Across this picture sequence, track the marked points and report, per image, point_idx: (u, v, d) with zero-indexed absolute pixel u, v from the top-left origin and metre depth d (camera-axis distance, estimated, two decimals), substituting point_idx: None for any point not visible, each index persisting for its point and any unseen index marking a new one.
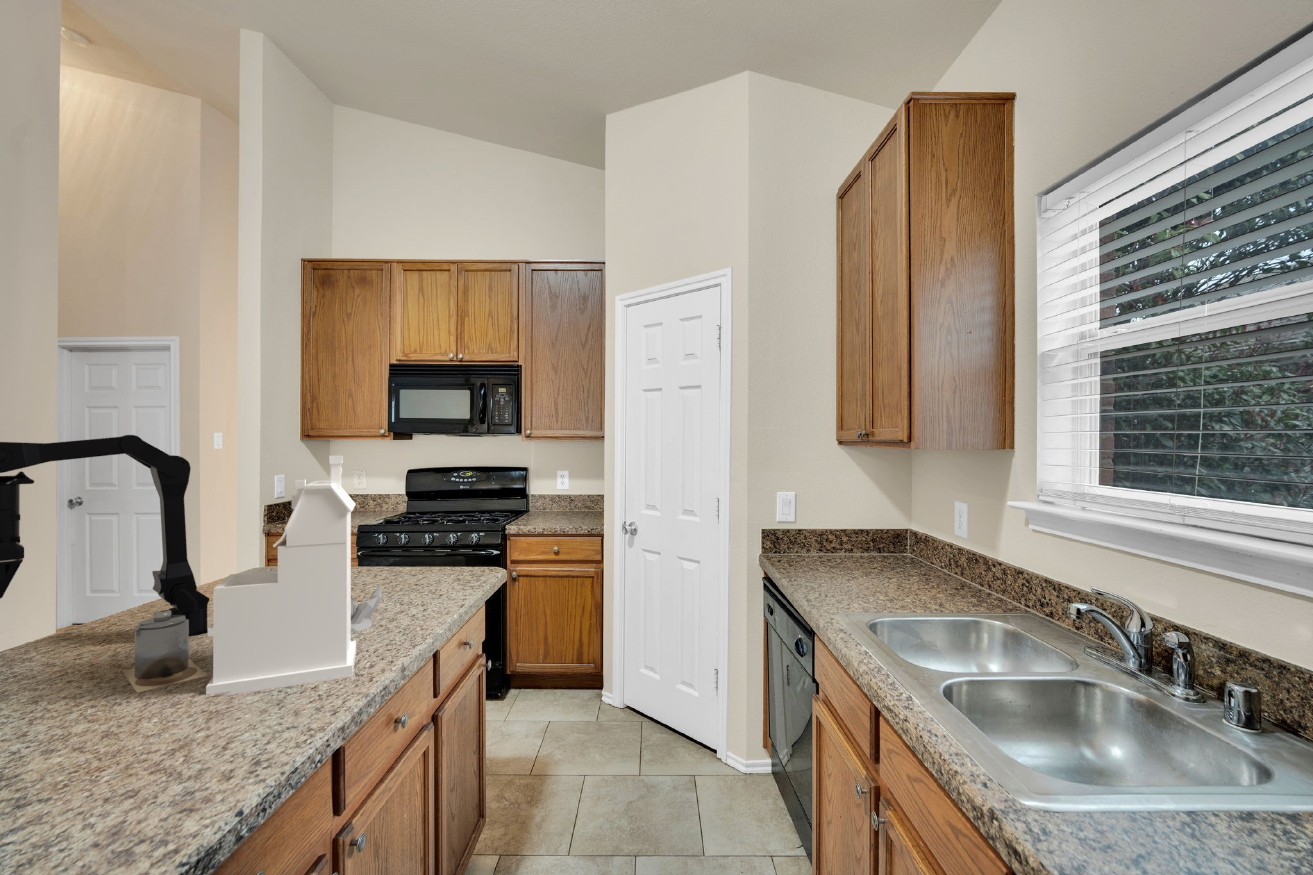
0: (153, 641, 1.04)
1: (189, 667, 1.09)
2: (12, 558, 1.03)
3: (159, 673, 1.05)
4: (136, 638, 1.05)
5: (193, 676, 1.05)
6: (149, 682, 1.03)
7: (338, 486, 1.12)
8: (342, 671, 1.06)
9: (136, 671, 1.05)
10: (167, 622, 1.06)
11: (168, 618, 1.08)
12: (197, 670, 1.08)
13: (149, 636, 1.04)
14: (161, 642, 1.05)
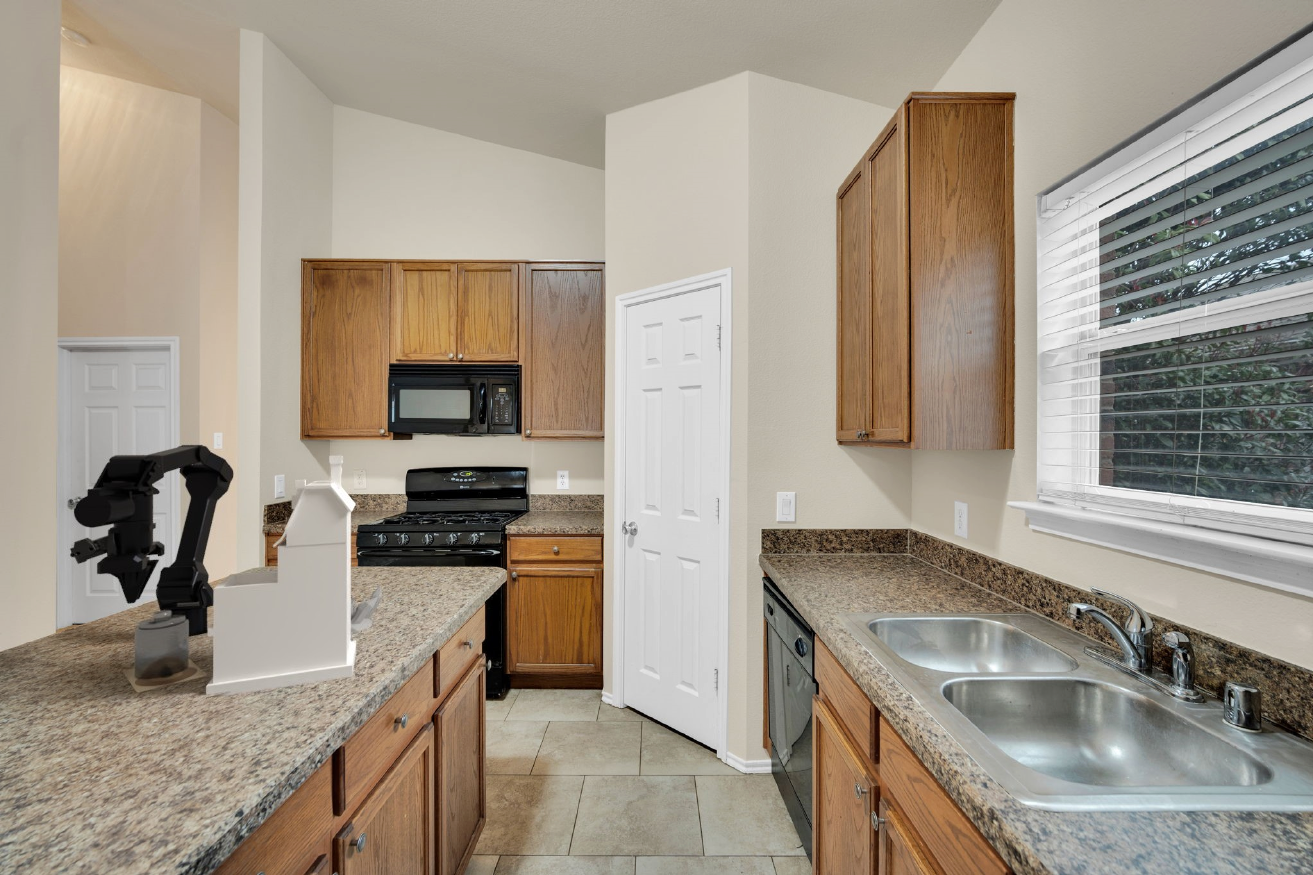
0: (153, 641, 1.04)
1: (189, 667, 1.09)
2: (131, 570, 1.06)
3: (159, 673, 1.05)
4: (136, 638, 1.05)
5: (193, 676, 1.05)
6: (149, 682, 1.03)
7: (338, 486, 1.12)
8: (342, 671, 1.06)
9: (136, 671, 1.05)
10: (167, 622, 1.06)
11: (168, 618, 1.08)
12: (197, 670, 1.08)
13: (149, 636, 1.04)
14: (161, 642, 1.05)
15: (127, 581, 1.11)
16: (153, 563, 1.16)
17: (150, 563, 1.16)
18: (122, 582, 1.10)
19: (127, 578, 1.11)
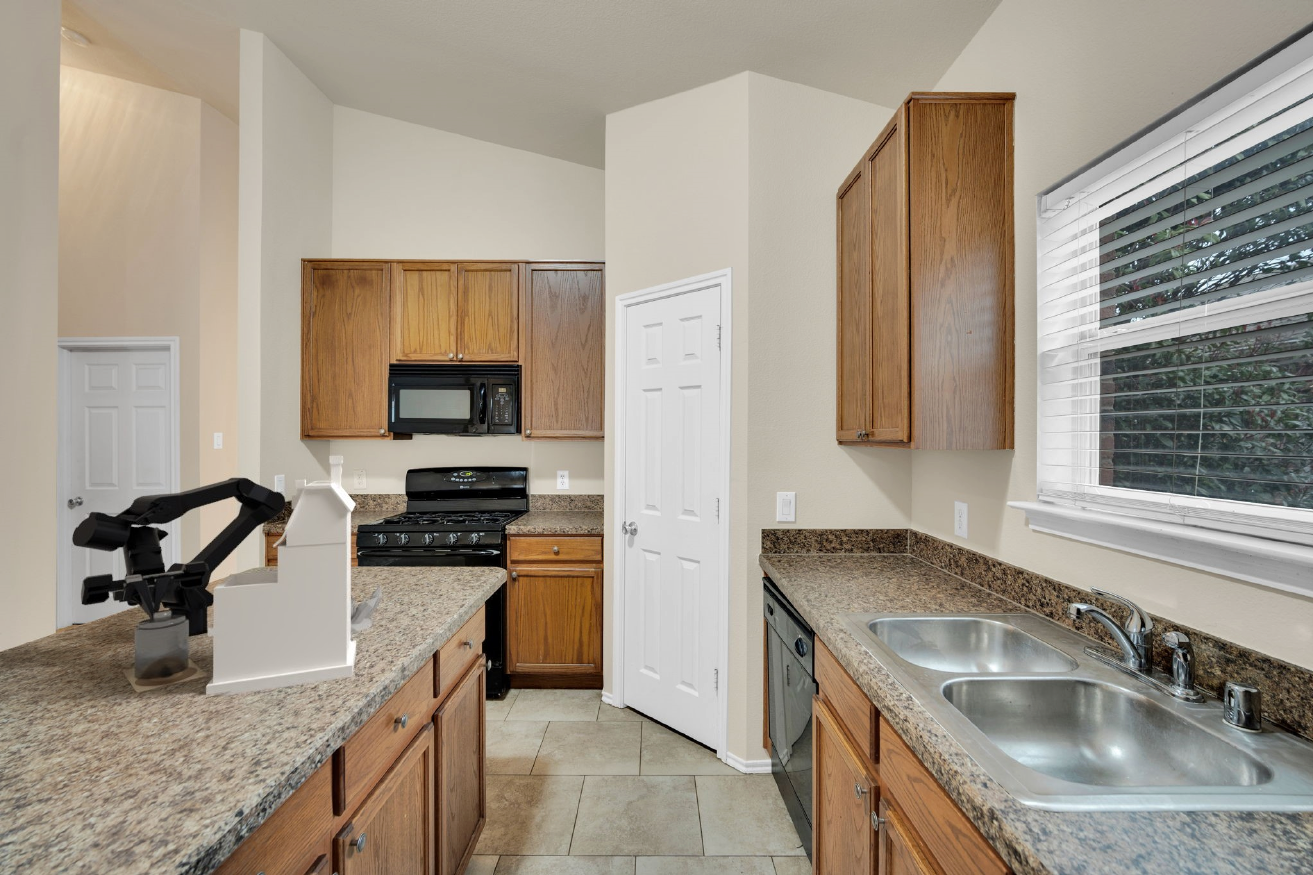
0: (153, 641, 1.04)
1: (189, 667, 1.09)
2: (83, 589, 1.08)
3: (159, 673, 1.05)
4: (136, 638, 1.05)
5: (193, 676, 1.05)
6: (149, 682, 1.03)
7: (338, 486, 1.12)
8: (342, 671, 1.06)
9: (136, 671, 1.05)
10: (167, 622, 1.06)
11: (168, 618, 1.08)
12: (197, 670, 1.08)
13: (149, 636, 1.04)
14: (161, 642, 1.05)
15: (141, 600, 1.14)
16: (156, 580, 1.15)
17: (155, 581, 1.15)
18: (139, 603, 1.14)
19: (141, 598, 1.14)
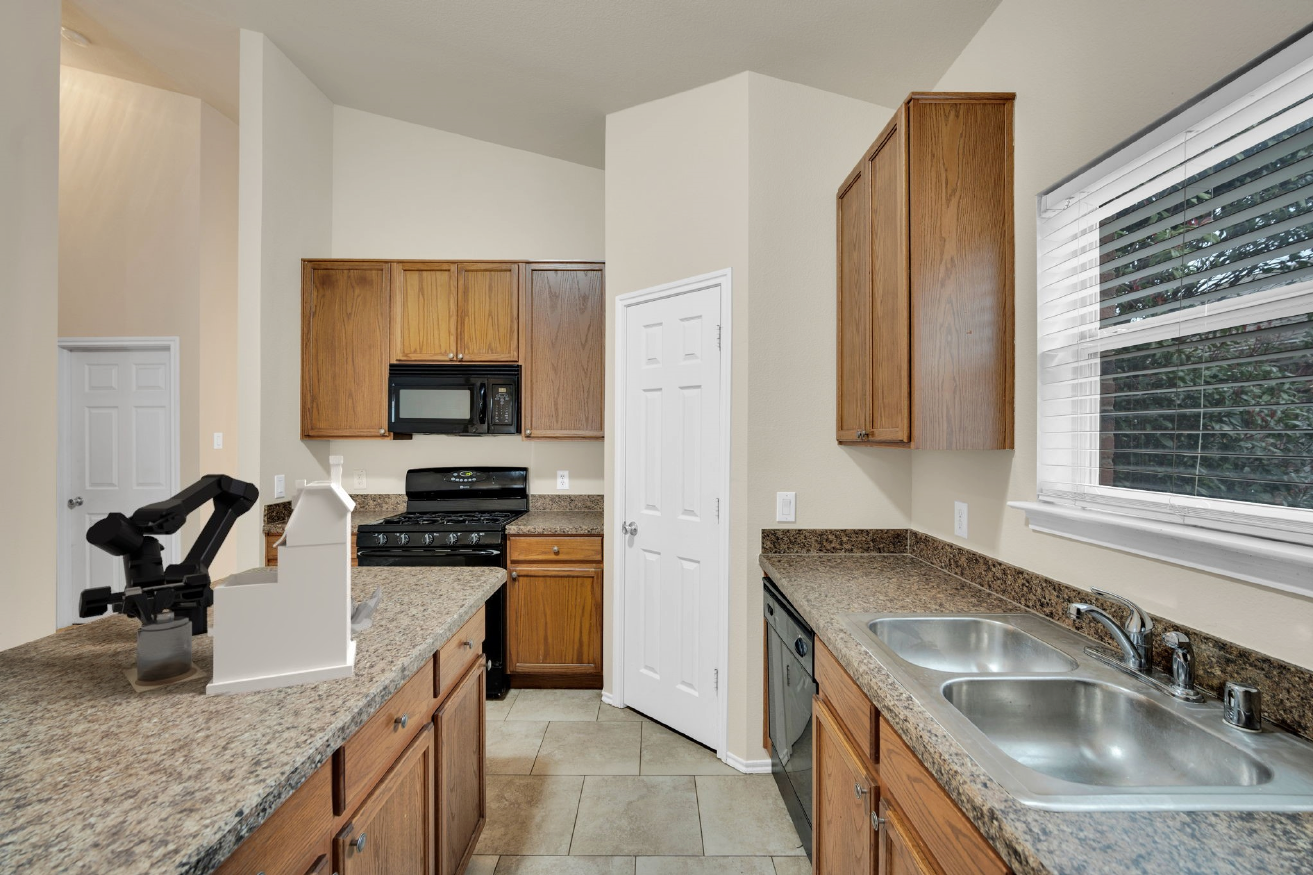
0: (156, 643, 1.03)
1: None
2: (80, 603, 1.04)
3: (162, 675, 1.04)
4: (139, 640, 1.04)
5: (193, 676, 1.05)
6: (149, 682, 1.03)
7: (338, 486, 1.12)
8: (342, 671, 1.06)
9: (139, 673, 1.03)
10: (170, 624, 1.05)
11: (171, 620, 1.07)
12: (197, 670, 1.08)
13: (152, 637, 1.03)
14: (164, 643, 1.04)
15: (140, 614, 1.10)
16: (156, 593, 1.11)
17: (155, 594, 1.11)
18: (138, 617, 1.10)
19: (140, 612, 1.10)
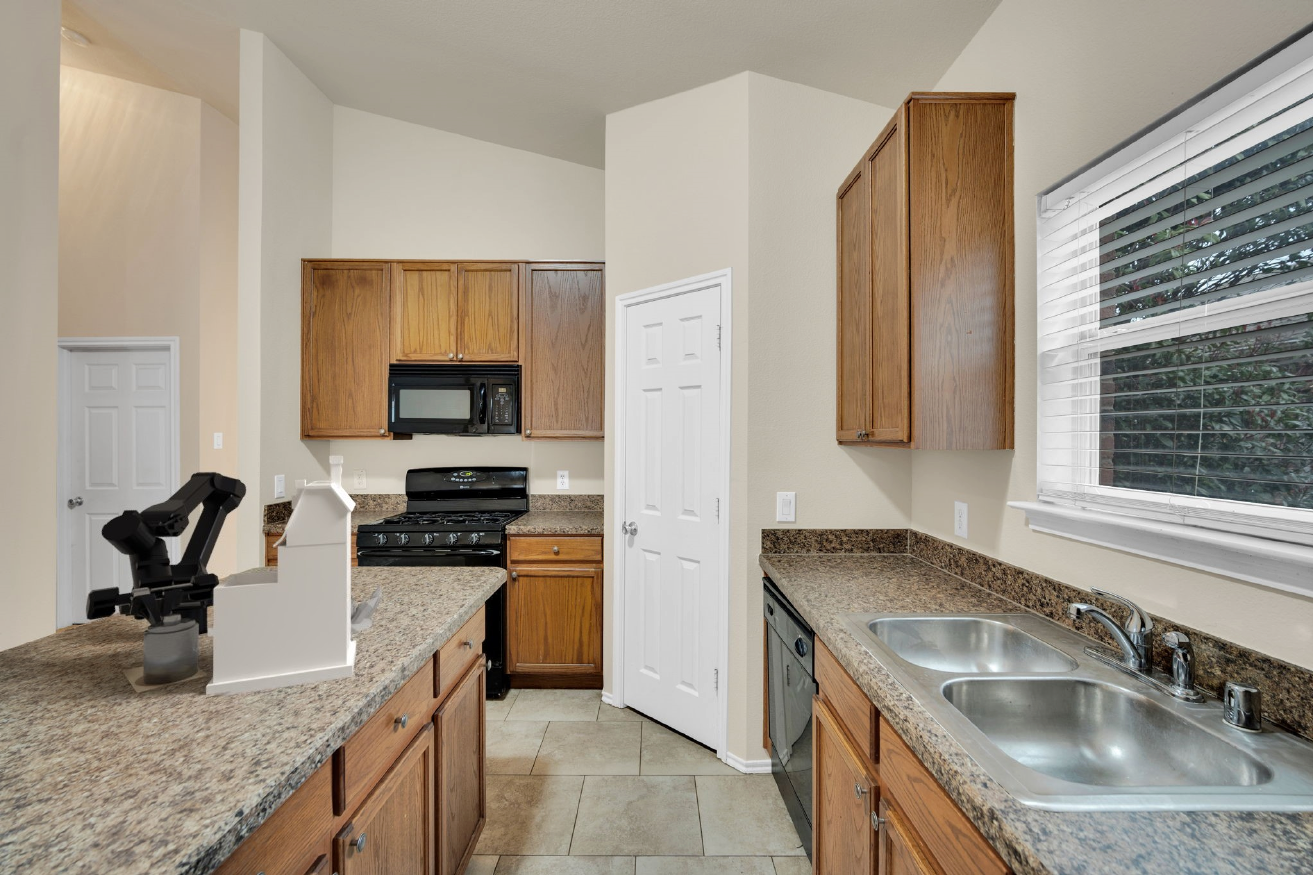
0: (162, 646, 1.02)
1: None
2: (88, 604, 1.03)
3: (168, 678, 1.02)
4: (145, 642, 1.02)
5: (193, 676, 1.05)
6: None
7: (338, 486, 1.12)
8: (342, 671, 1.06)
9: (145, 676, 1.02)
10: (177, 626, 1.04)
11: (178, 622, 1.05)
12: None
13: (159, 640, 1.02)
14: (170, 647, 1.03)
15: (148, 615, 1.09)
16: (164, 593, 1.10)
17: (163, 595, 1.10)
18: (146, 618, 1.09)
19: (148, 612, 1.09)
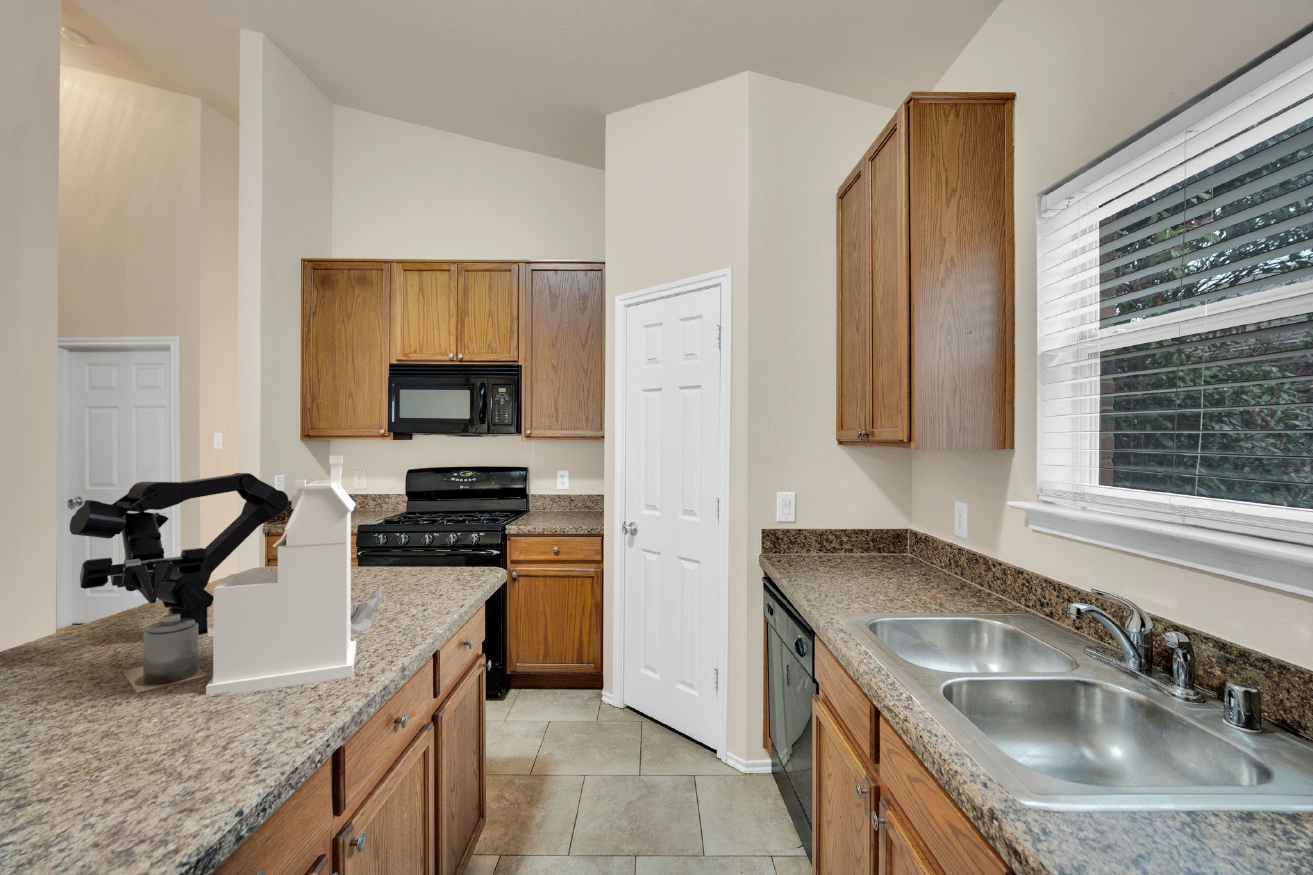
0: (162, 646, 1.02)
1: None
2: (83, 572, 1.09)
3: (168, 678, 1.02)
4: (145, 643, 1.02)
5: (193, 676, 1.05)
6: None
7: (338, 486, 1.12)
8: (342, 670, 1.06)
9: (145, 676, 1.02)
10: (177, 626, 1.04)
11: (178, 622, 1.05)
12: None
13: (159, 640, 1.02)
14: (170, 646, 1.03)
15: (140, 585, 1.14)
16: (155, 565, 1.16)
17: (154, 566, 1.16)
18: (137, 588, 1.14)
19: (139, 583, 1.14)
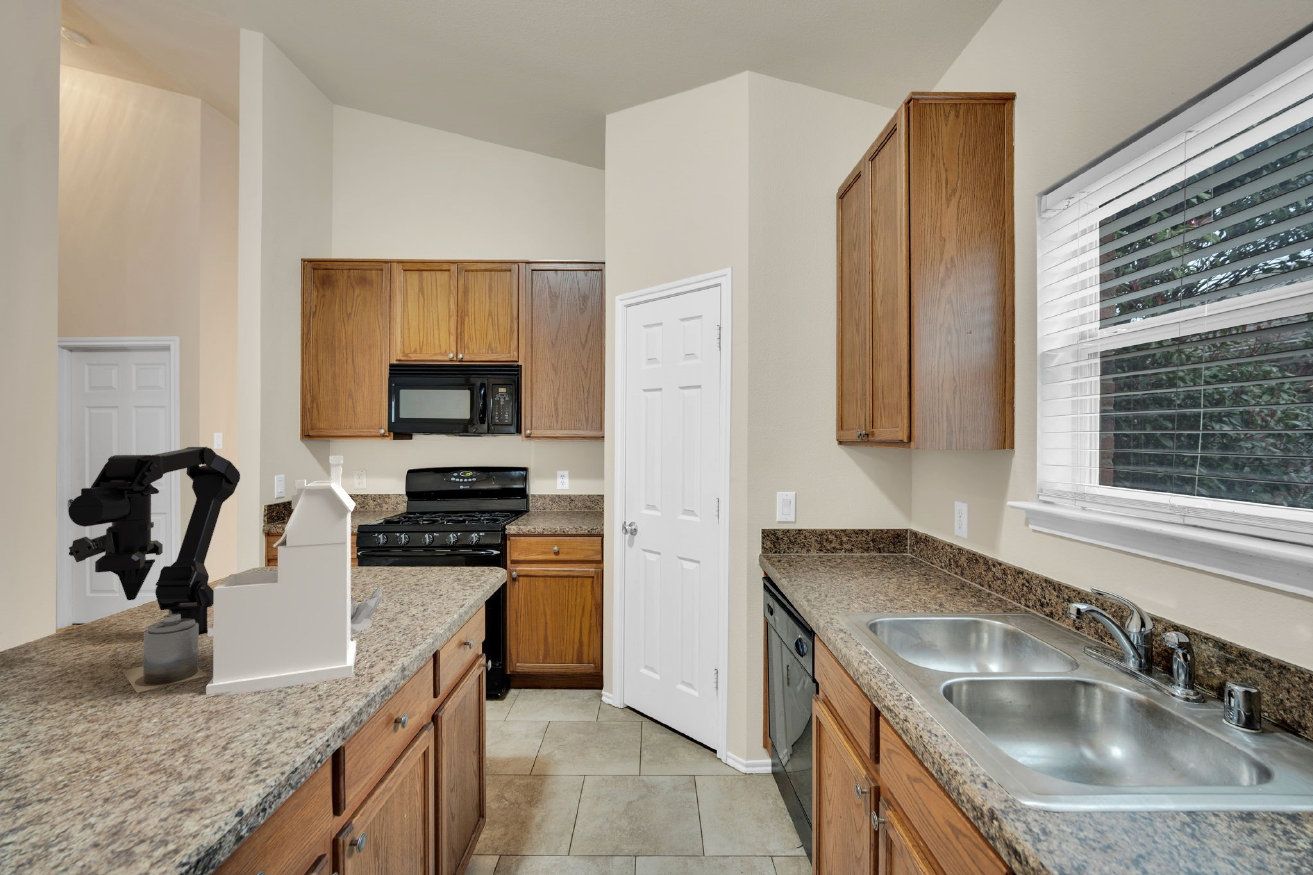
0: (162, 646, 1.02)
1: None
2: (129, 568, 1.07)
3: (168, 678, 1.02)
4: (145, 642, 1.02)
5: (193, 676, 1.05)
6: None
7: (338, 486, 1.12)
8: (342, 671, 1.06)
9: (145, 676, 1.02)
10: (177, 626, 1.04)
11: (178, 622, 1.05)
12: None
13: (159, 640, 1.02)
14: (170, 646, 1.03)
15: (127, 578, 1.13)
16: (149, 563, 1.16)
17: (146, 563, 1.16)
18: (122, 579, 1.12)
19: (127, 575, 1.13)
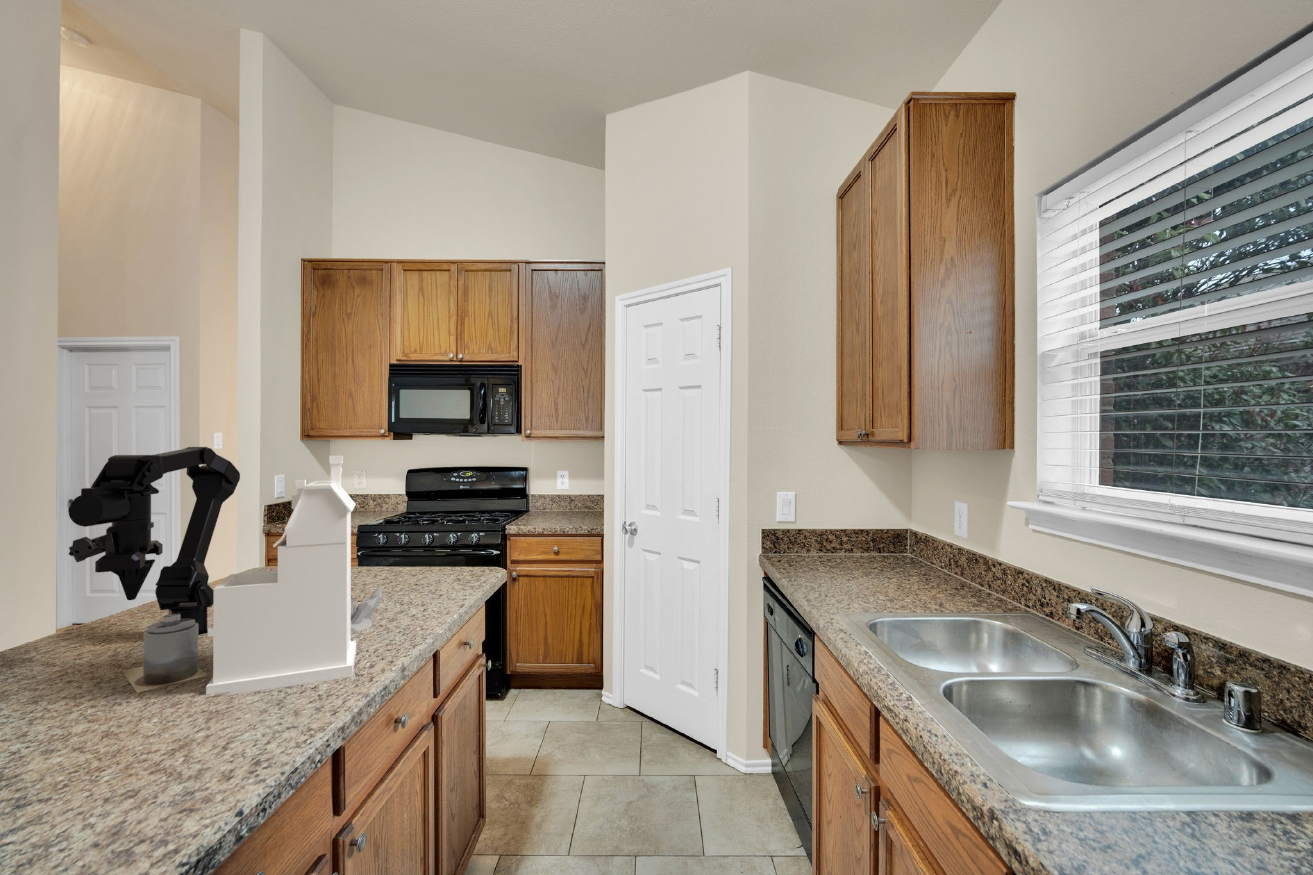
0: (162, 646, 1.02)
1: None
2: (129, 568, 1.07)
3: (168, 678, 1.02)
4: (145, 642, 1.02)
5: (193, 676, 1.05)
6: None
7: (338, 486, 1.12)
8: (342, 670, 1.06)
9: (145, 676, 1.02)
10: (177, 626, 1.04)
11: (178, 622, 1.05)
12: None
13: (159, 640, 1.02)
14: (170, 646, 1.03)
15: (127, 578, 1.13)
16: (149, 563, 1.16)
17: (146, 563, 1.16)
18: (122, 579, 1.12)
19: (127, 575, 1.13)
